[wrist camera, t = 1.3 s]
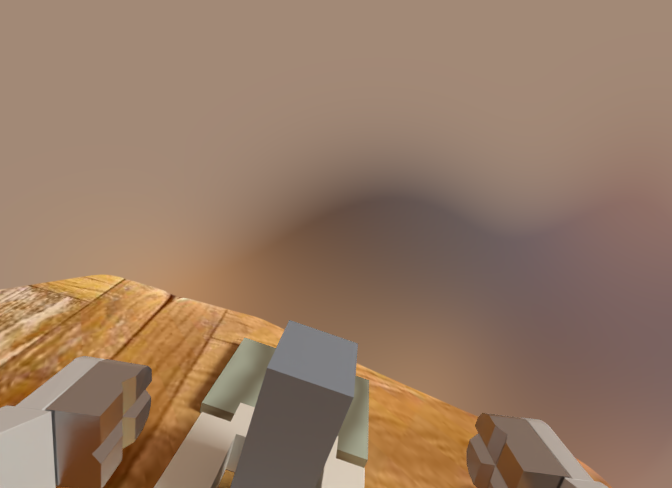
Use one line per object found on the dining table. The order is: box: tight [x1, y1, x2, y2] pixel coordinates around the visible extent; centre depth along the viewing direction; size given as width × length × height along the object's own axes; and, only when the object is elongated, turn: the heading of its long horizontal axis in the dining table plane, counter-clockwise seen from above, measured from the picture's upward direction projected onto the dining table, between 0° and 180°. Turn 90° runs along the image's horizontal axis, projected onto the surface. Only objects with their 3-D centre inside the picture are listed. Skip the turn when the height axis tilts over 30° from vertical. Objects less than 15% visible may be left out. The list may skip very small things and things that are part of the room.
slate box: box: [230, 320, 358, 488], centre depth 25 cm, size 6×6×20 cm
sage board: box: [200, 338, 369, 468], centre depth 43 cm, size 20×13×2 cm, turn 83°
